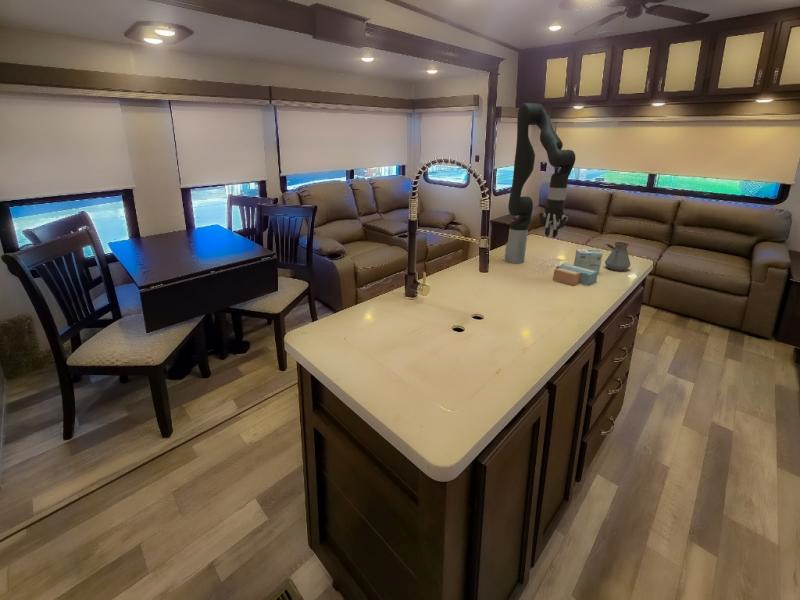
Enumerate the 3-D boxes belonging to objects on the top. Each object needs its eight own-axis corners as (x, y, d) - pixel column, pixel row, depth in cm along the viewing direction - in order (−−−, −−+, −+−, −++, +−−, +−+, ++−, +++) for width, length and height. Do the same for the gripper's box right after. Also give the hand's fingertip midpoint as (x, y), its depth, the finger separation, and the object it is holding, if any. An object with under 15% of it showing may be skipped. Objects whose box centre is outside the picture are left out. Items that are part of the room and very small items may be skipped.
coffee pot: (610, 263, 214) (616, 235, 208) (633, 269, 205) (640, 240, 200) (588, 271, 202) (594, 241, 196) (612, 277, 193) (618, 246, 188)
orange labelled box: (552, 279, 189) (554, 269, 187) (558, 277, 192) (560, 267, 190) (573, 285, 182) (575, 274, 180) (578, 283, 185) (580, 272, 183)
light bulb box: (594, 270, 203) (598, 249, 199) (599, 274, 197) (603, 253, 193) (572, 269, 204) (575, 248, 200) (576, 274, 198) (580, 252, 194)
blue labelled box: (554, 276, 194) (556, 266, 192) (563, 273, 199) (565, 263, 197) (587, 285, 183) (589, 274, 181) (596, 281, 188) (598, 271, 186)
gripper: (537, 196, 184) (532, 235, 190) (567, 200, 174) (560, 240, 180) (546, 195, 188) (541, 232, 195) (575, 199, 178) (569, 238, 185)
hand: (550, 236), depth 187 cm, fingers open, 3 cm apart
